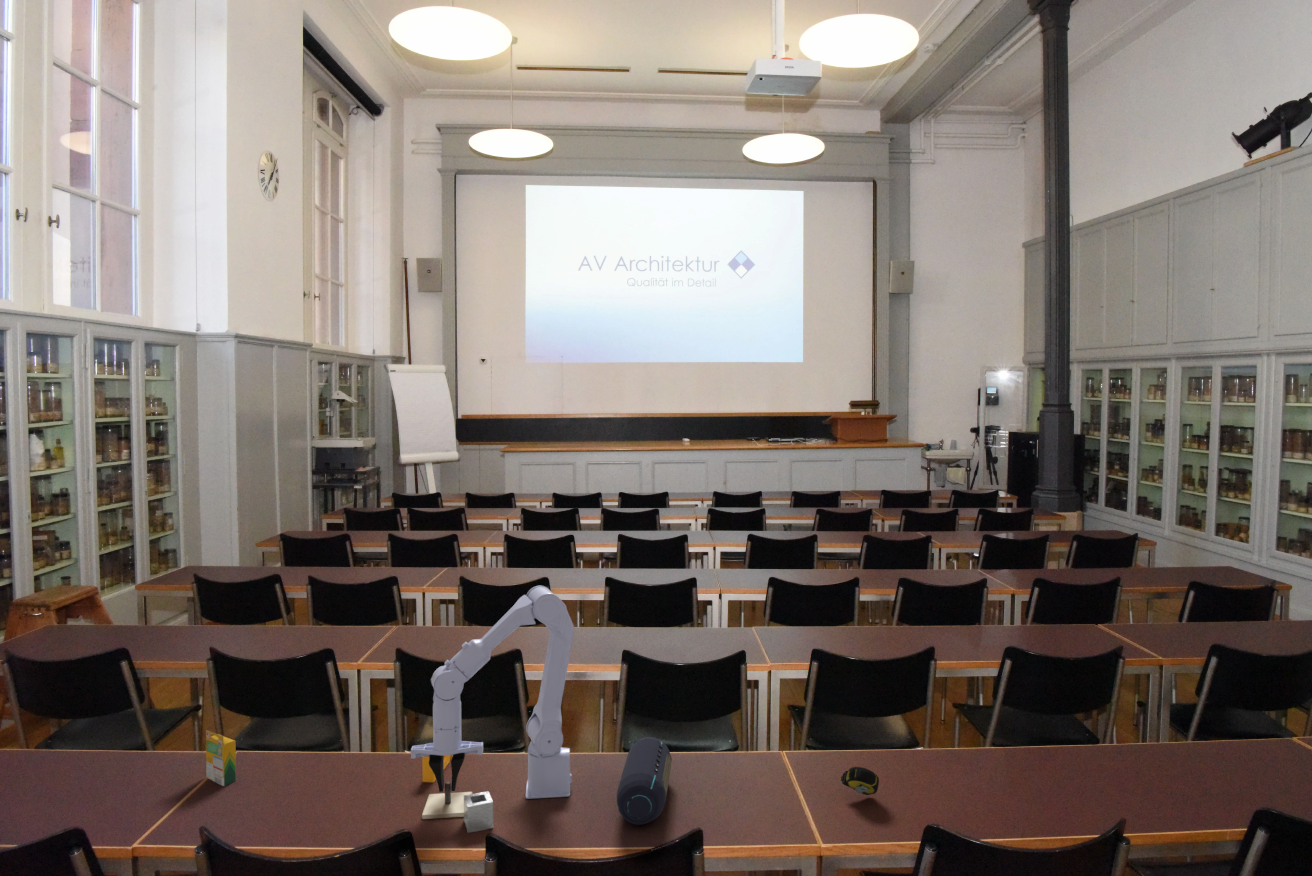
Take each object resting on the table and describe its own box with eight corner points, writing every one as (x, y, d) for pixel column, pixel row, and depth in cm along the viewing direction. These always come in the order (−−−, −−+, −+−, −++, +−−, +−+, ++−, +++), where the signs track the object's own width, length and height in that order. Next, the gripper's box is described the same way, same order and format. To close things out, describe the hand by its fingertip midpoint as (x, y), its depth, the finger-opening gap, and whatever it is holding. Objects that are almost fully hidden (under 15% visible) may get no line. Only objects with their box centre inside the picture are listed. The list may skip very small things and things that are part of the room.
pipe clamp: (435, 760, 186) (435, 733, 186) (453, 761, 186) (453, 734, 185) (415, 784, 174) (414, 755, 174) (433, 784, 174) (433, 756, 173)
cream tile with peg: (472, 795, 168) (472, 772, 168) (467, 816, 159) (467, 792, 159) (429, 797, 167) (429, 774, 167) (422, 819, 158) (421, 794, 158)
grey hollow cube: (488, 816, 159) (488, 791, 159) (493, 828, 155) (493, 802, 155) (463, 821, 157) (463, 795, 157) (467, 833, 153) (467, 806, 153)
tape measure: (868, 801, 168) (871, 784, 170) (882, 793, 162) (885, 776, 165) (838, 787, 168) (842, 770, 170) (852, 779, 163) (855, 762, 165)
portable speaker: (664, 833, 153) (664, 782, 153) (613, 831, 154) (613, 780, 154) (672, 775, 178) (672, 732, 178) (629, 773, 179) (629, 730, 179)
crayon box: (236, 783, 174) (236, 732, 174) (223, 789, 171) (222, 736, 171) (219, 775, 178) (218, 725, 178) (205, 781, 175) (205, 729, 175)
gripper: (484, 716, 168) (484, 778, 168) (414, 719, 166) (415, 782, 166) (481, 728, 161) (481, 794, 161) (408, 732, 159) (409, 798, 159)
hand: (447, 789), depth 163 cm, fingers closed
